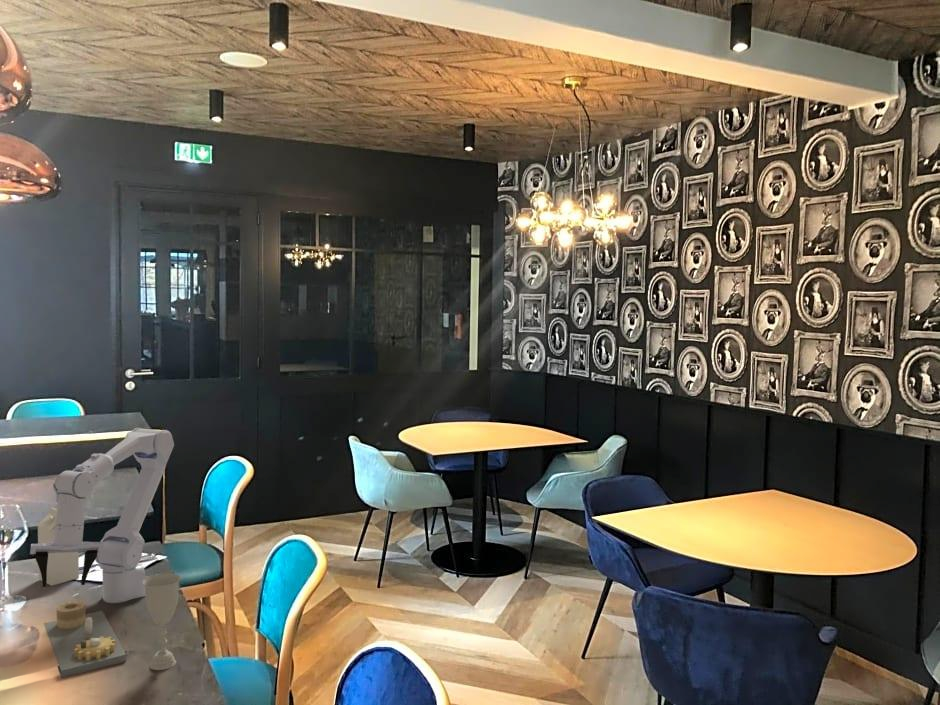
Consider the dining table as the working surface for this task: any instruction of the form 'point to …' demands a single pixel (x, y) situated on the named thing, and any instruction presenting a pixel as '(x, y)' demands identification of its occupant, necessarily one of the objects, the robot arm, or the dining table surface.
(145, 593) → the robot arm
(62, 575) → the milk carton
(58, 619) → the wooden ring spacer
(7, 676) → the dining table surface
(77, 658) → the gear board
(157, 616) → the chalice
